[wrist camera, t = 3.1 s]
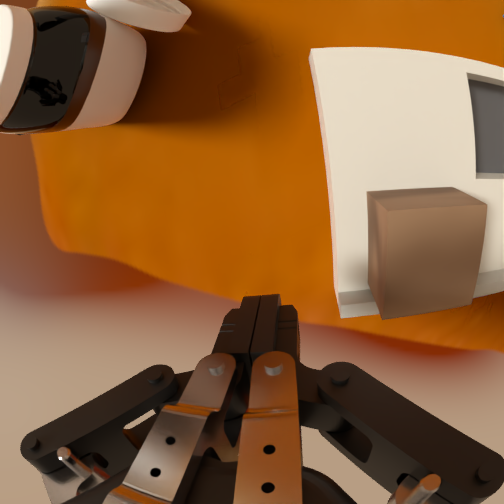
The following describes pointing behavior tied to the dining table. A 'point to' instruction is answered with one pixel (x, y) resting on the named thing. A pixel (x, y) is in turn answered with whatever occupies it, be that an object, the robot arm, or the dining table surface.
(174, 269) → the dining table surface
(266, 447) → the robot arm
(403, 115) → the two-hole white board
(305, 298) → the dining table surface
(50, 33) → the spread jar
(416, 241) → the walnut block
